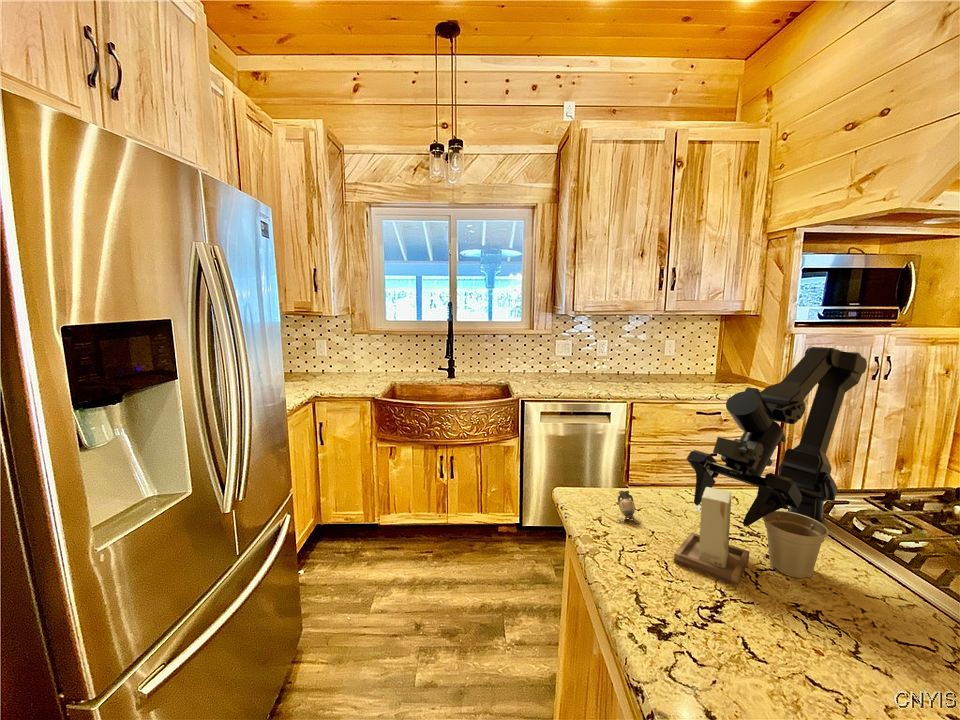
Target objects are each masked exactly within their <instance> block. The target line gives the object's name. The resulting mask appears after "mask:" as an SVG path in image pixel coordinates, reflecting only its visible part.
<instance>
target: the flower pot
mask: <svg viewBox="0 0 960 720" xmlns="http://www.w3.org/2000/svg"><path fill="white" fill-rule="evenodd" d="M761 519H762V521H763V523H764V527H765V529H766V537H767V545H768V556H769V557H768V560H769V564H770V565H771V566H772V568H775V569H777V570H778V571H779V572H780V573H781V574H784V575H786V576H790V577H791V578H792V577H793V578H798V579H804V578H807V577H808V578H811V577H812V576H813V574H814V569H815V566H816V563H817V559H818V557H819V553H820V550H821V547H822V544H823V543H824V542H825V539H826V538H827V537H828V536H829V533H830V531H829V529H828V528H827V526H826V525H825V524H824V525H823V524H822V523H820V522H818V521H816V520H814V519H812V518H810V517H807V516H804V515H801V514H797V513H793V512H788V510H787V511H786V510H780V509H778V510H776V511H774V512H772V513H770V514H768V515H766V516H764V517H762V518H761Z"/></svg>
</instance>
